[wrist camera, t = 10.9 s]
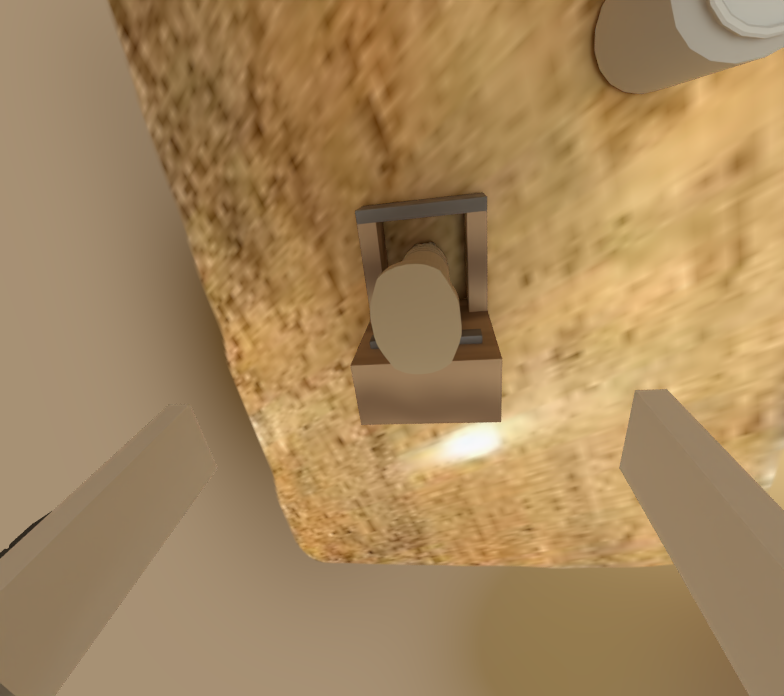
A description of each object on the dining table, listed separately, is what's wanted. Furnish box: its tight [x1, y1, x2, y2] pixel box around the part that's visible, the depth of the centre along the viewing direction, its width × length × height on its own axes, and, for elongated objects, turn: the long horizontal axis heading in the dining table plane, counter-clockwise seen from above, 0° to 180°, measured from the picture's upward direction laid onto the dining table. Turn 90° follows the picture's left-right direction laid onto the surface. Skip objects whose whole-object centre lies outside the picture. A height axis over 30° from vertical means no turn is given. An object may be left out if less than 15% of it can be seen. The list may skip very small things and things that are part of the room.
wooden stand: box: [351, 193, 502, 425], centre depth 29 cm, size 14×10×12 cm
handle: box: [370, 242, 462, 374], centre depth 27 cm, size 5×6×15 cm
